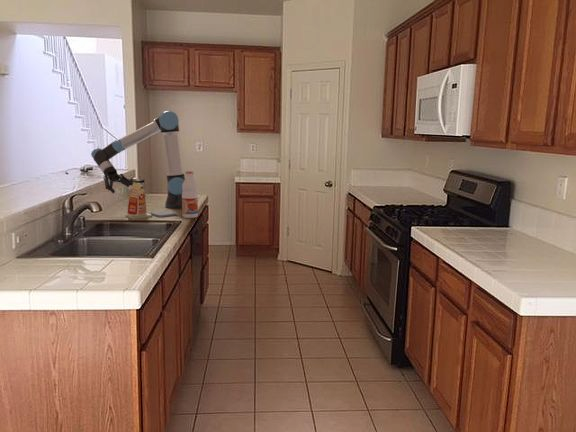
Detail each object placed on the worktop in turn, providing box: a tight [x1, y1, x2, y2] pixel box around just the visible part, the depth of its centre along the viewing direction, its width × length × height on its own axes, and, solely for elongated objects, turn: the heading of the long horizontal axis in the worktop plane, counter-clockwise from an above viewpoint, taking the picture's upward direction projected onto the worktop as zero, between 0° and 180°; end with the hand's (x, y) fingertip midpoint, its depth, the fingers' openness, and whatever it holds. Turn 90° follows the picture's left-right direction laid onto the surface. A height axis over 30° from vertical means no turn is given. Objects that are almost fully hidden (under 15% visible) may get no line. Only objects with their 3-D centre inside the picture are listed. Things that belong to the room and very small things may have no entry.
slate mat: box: [150, 210, 178, 218], centre depth 304 cm, size 12×12×1 cm
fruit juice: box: [181, 170, 199, 219], centre depth 297 cm, size 9×9×28 cm
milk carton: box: [126, 181, 148, 216], centre depth 295 cm, size 9×9×20 cm
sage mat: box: [124, 213, 153, 220], centre depth 298 cm, size 12×12×1 cm
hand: (126, 195), depth 300 cm, fingers open, 13 cm apart
